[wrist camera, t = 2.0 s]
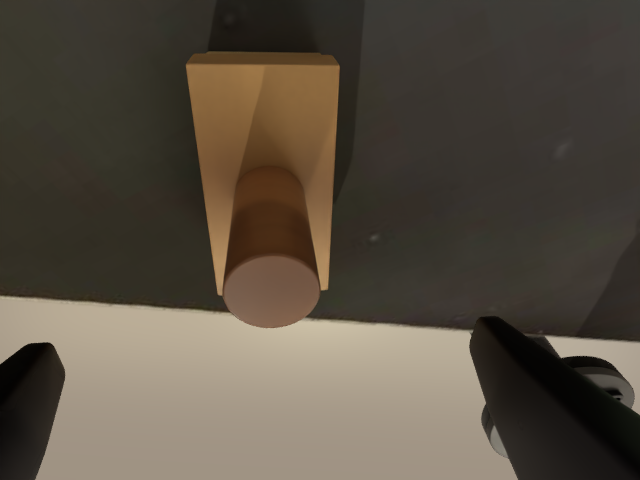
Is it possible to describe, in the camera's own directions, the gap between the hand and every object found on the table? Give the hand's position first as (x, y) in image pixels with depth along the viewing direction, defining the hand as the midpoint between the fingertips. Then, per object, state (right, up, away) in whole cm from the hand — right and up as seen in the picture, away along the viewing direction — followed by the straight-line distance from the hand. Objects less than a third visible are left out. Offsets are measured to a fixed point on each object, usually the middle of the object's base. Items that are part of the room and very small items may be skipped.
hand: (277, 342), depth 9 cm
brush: (-1, +5, +8) cm, 10 cm away
